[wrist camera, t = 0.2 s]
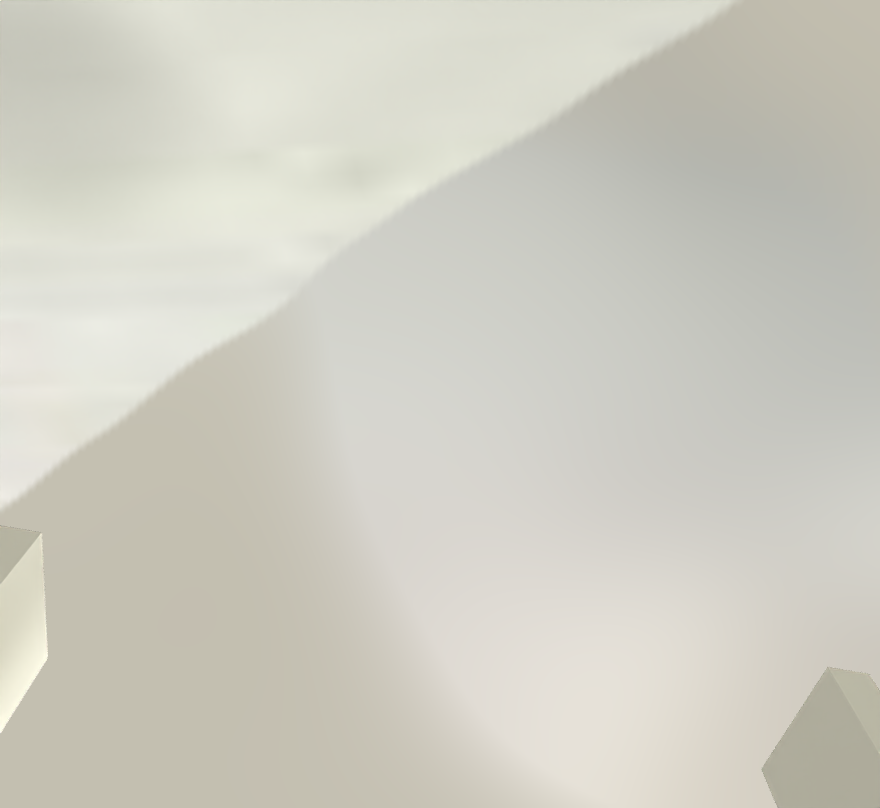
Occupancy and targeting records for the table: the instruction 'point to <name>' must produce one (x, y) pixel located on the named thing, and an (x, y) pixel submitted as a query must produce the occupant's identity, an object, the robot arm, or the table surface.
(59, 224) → the table surface
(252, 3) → the table surface
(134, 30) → the table surface
